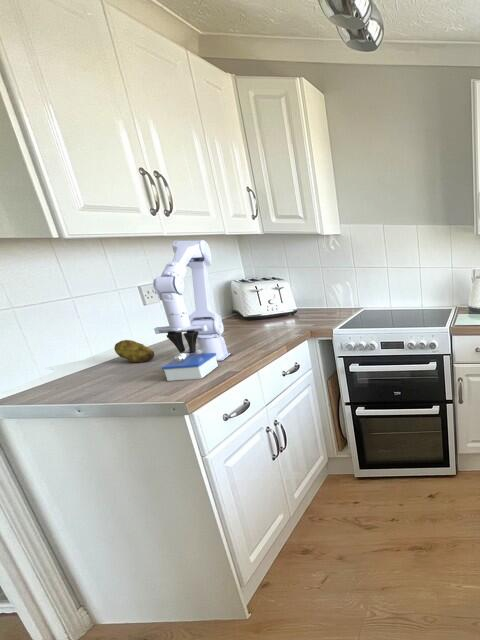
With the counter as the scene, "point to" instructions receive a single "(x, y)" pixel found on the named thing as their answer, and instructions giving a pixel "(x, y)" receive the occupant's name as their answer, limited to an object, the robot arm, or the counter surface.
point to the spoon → (187, 354)
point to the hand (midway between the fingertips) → (188, 352)
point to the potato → (133, 351)
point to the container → (191, 367)
